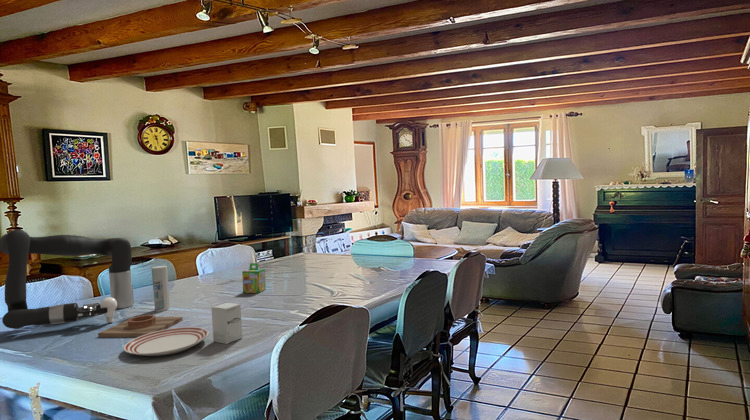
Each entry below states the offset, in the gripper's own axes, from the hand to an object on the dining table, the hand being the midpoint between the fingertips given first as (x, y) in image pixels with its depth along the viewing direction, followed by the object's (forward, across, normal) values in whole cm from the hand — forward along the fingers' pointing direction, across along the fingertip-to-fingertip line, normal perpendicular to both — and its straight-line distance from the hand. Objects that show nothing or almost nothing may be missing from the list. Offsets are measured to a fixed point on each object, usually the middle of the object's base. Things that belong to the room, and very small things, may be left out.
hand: (108, 307), depth 204 cm
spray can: (+20, +13, +7) cm, 25 cm away
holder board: (+13, -17, +6) cm, 23 cm away
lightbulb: (0, 0, +7) cm, 7 cm away
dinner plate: (+23, -48, +7) cm, 54 cm away
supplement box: (+43, -51, +7) cm, 68 cm away
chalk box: (+64, +28, +7) cm, 70 cm away
